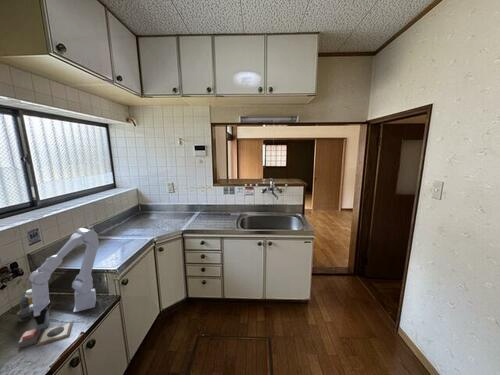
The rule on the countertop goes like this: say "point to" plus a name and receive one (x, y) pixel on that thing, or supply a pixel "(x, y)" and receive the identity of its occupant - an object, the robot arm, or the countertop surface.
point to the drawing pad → (54, 333)
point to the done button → (29, 334)
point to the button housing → (29, 340)
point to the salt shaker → (24, 310)
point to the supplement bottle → (29, 296)
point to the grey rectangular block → (44, 321)
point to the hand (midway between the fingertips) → (42, 320)
